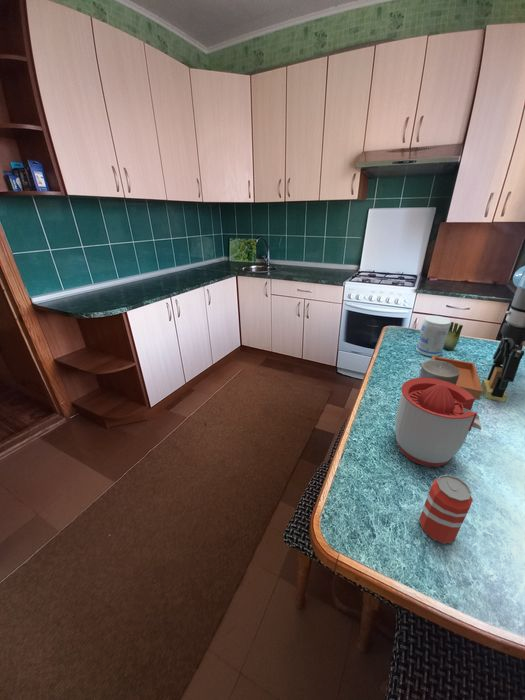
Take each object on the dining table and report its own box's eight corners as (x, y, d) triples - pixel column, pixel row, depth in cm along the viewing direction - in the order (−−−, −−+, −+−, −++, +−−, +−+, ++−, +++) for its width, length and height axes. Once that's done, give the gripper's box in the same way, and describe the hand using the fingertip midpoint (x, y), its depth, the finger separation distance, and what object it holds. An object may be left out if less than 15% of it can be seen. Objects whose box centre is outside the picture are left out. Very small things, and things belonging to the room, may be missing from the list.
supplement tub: (410, 349, 124) (418, 316, 118) (427, 345, 127) (436, 313, 120) (428, 359, 116) (438, 325, 110) (446, 355, 119) (457, 321, 112)
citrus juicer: (467, 489, 64) (499, 417, 55) (384, 459, 72) (400, 392, 63) (464, 442, 76) (489, 378, 67) (393, 421, 84) (407, 361, 75)
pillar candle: (450, 404, 90) (465, 362, 83) (442, 420, 84) (457, 376, 77) (417, 392, 96) (428, 352, 89) (407, 406, 90) (418, 364, 83)
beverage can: (446, 515, 59) (464, 473, 53) (460, 548, 53) (482, 506, 48) (415, 510, 60) (429, 470, 54) (425, 543, 54) (442, 501, 48)
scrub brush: (499, 388, 97) (508, 365, 93) (504, 402, 91) (514, 377, 87) (481, 385, 99) (490, 362, 95) (484, 397, 93) (494, 374, 89)
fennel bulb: (456, 350, 122) (465, 324, 117) (446, 352, 121) (455, 325, 116) (446, 345, 127) (454, 319, 122) (436, 346, 126) (444, 320, 121)
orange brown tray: (471, 370, 108) (474, 363, 106) (479, 399, 92) (482, 391, 91) (430, 363, 113) (432, 355, 112) (431, 389, 98) (433, 381, 96)
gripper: (498, 311, 94) (475, 371, 104) (513, 335, 77) (485, 403, 88) (527, 314, 91) (501, 376, 101) (549, 339, 74) (516, 410, 85)
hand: (493, 388), depth 94 cm, fingers closed on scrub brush, 8 cm apart
